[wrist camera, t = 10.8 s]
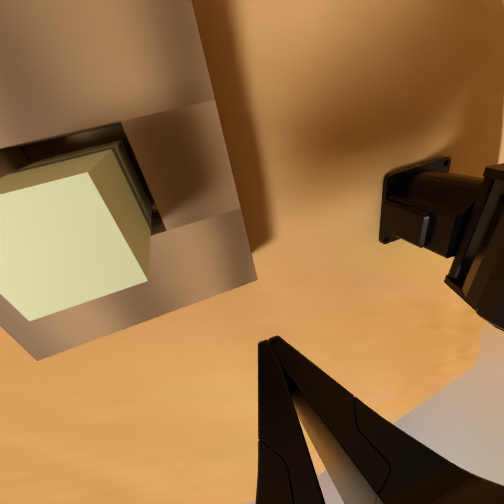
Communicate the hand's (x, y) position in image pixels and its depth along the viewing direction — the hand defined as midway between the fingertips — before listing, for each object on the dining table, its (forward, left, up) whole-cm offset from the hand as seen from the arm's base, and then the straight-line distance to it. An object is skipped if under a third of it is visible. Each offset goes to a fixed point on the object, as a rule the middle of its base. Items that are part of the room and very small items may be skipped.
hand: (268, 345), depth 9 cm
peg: (+5, -6, -10) cm, 13 cm away
